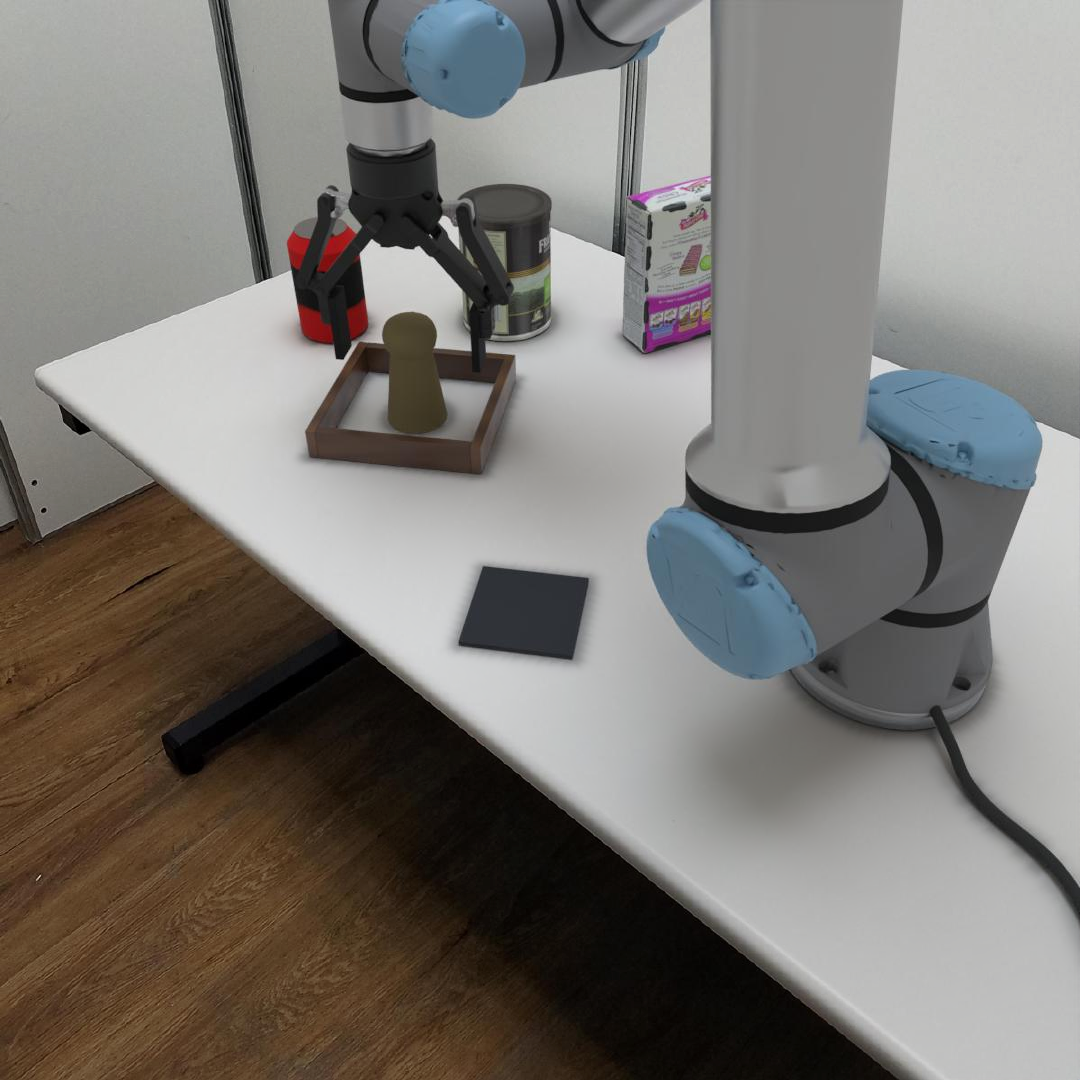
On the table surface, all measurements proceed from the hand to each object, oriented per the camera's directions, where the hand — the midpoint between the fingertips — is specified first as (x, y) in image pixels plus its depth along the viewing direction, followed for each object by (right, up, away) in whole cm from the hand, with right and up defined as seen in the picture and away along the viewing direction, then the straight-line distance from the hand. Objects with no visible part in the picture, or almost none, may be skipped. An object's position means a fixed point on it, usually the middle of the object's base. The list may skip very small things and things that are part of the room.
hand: (411, 359), depth 104 cm
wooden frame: (0, -5, +4) cm, 7 cm away
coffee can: (+9, +8, +19) cm, 22 cm away
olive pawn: (0, -5, +4) cm, 7 cm away
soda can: (-11, +6, +18) cm, 22 cm away
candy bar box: (+27, +6, +17) cm, 33 cm away
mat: (+11, -23, -18) cm, 31 cm away
